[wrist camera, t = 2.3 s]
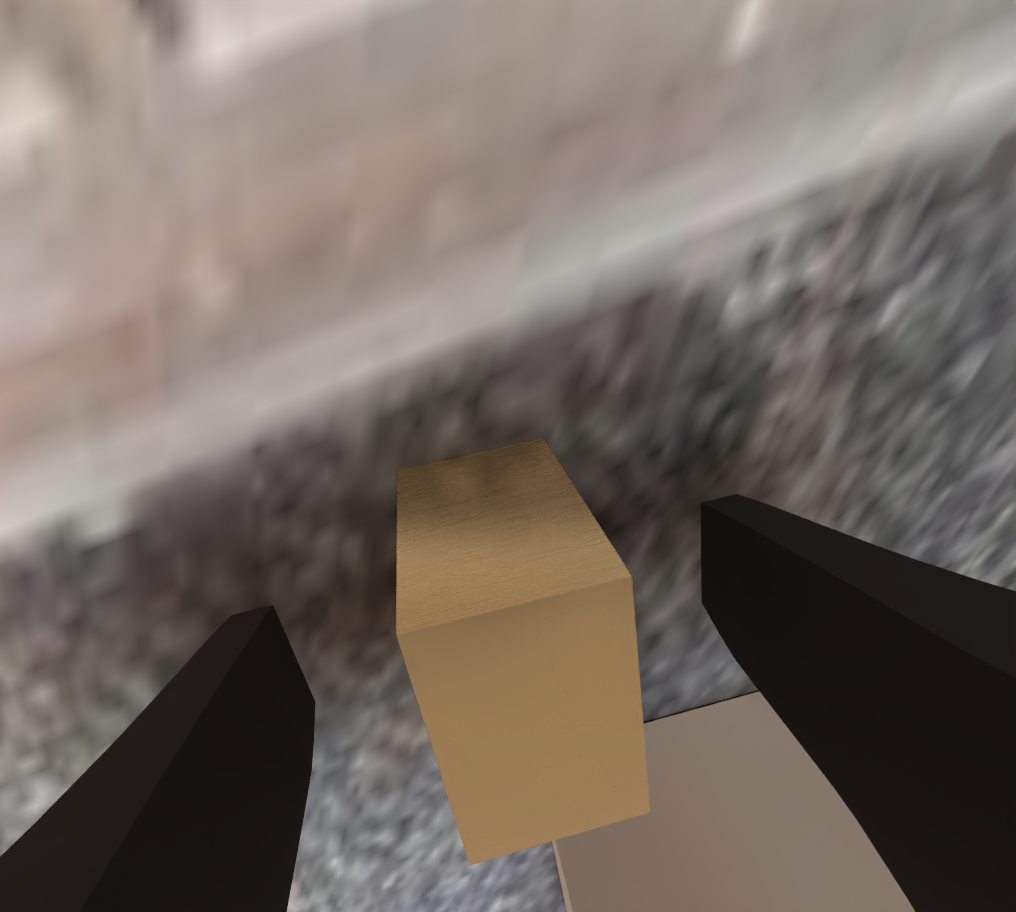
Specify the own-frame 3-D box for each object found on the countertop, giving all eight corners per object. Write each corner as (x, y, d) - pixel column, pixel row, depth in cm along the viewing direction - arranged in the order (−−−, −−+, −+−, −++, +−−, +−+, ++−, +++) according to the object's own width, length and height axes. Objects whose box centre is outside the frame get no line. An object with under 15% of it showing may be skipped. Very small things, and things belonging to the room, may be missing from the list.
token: (542, 437, 9) (631, 576, 6) (568, 618, 11) (650, 812, 8) (397, 469, 9) (396, 635, 6) (446, 649, 11) (469, 865, 7)
